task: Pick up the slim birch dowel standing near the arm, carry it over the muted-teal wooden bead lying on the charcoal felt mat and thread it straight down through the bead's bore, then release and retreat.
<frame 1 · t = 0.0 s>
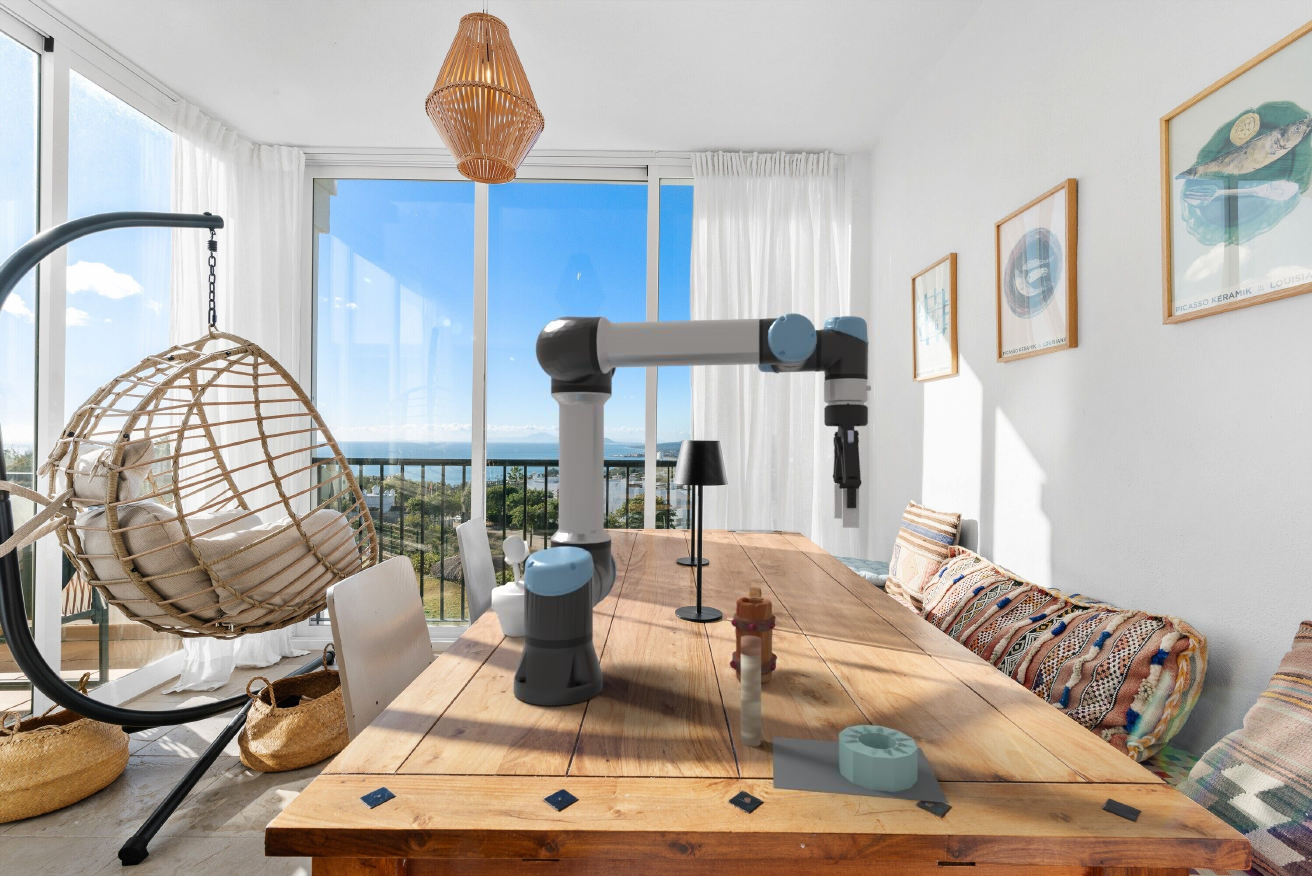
hand: (845, 522, 119), 28 cm above the table, fingers open, 13 cm apart
wooden banded keg: (754, 675, 121), on the table
bead: (877, 772, 84), resting on mat
mat: (851, 771, 86), on the table
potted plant: (519, 633, 148), on the table
dowel: (750, 746, 93), on the table
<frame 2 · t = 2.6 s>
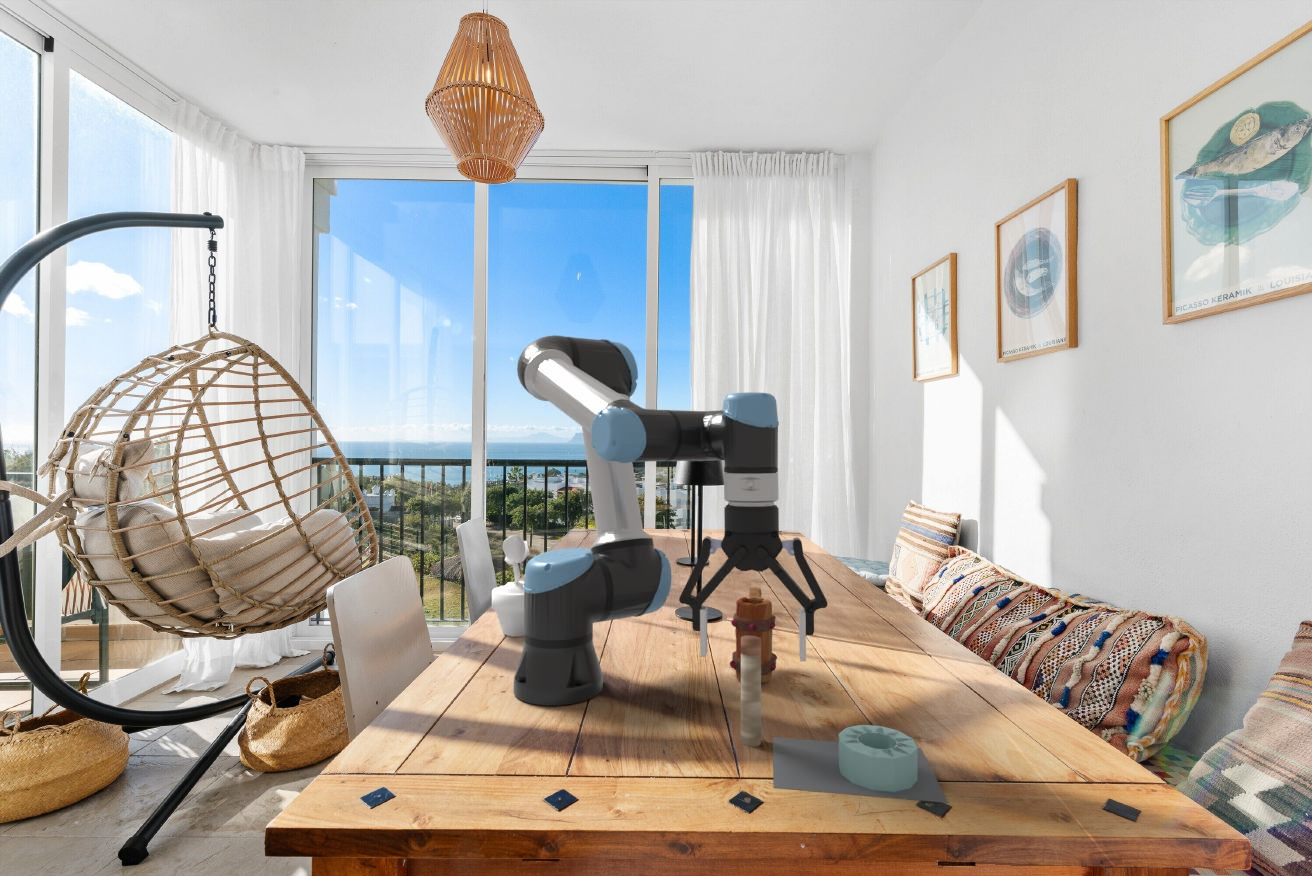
hand: (752, 656, 93), 13 cm above the table, fingers open, 13 cm apart
nothing on the table moved.
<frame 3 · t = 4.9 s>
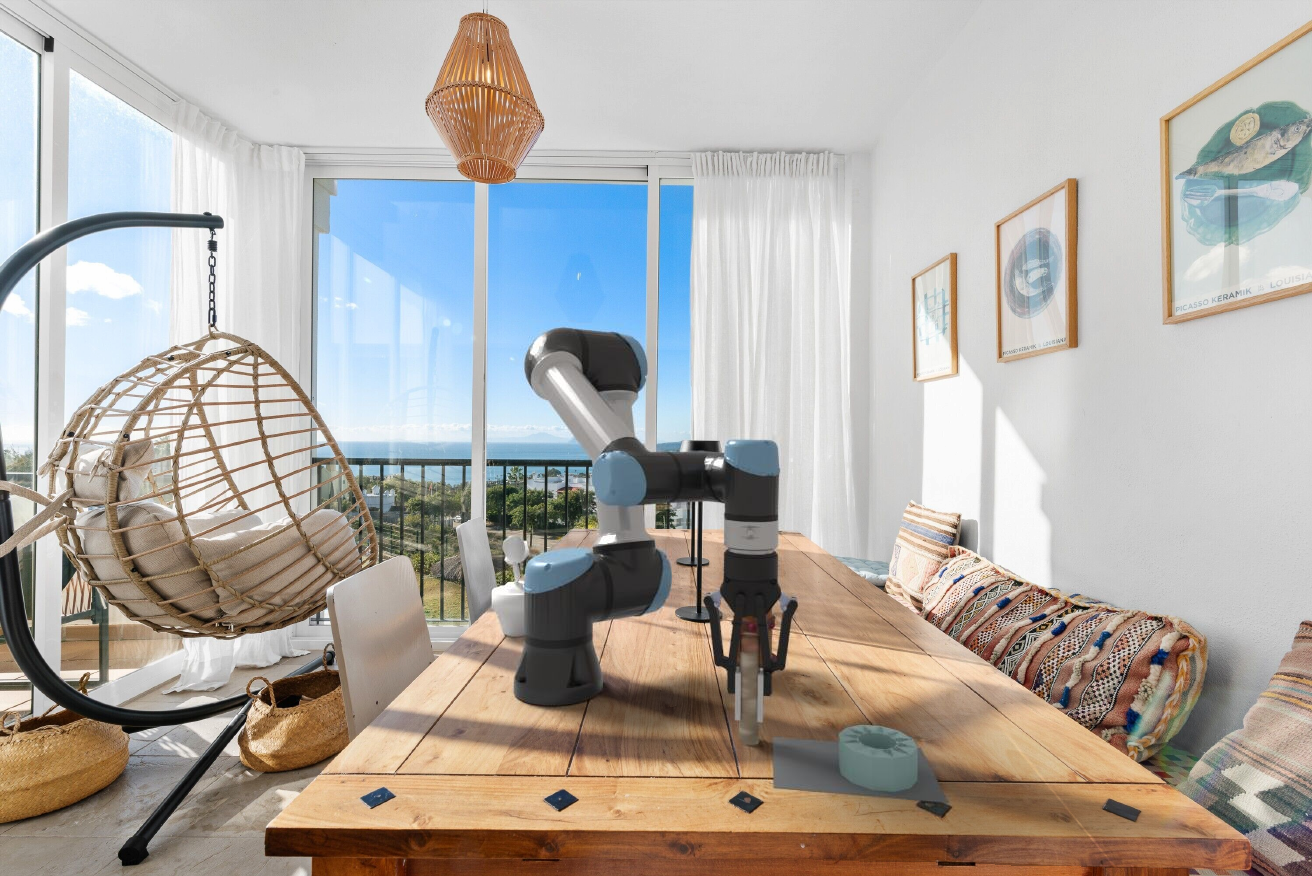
hand: (749, 717, 93), 4 cm above the table, fingers closed on dowel, 2 cm apart
dowel: (749, 742, 93), on the table, touching gripper
everything else where it was.
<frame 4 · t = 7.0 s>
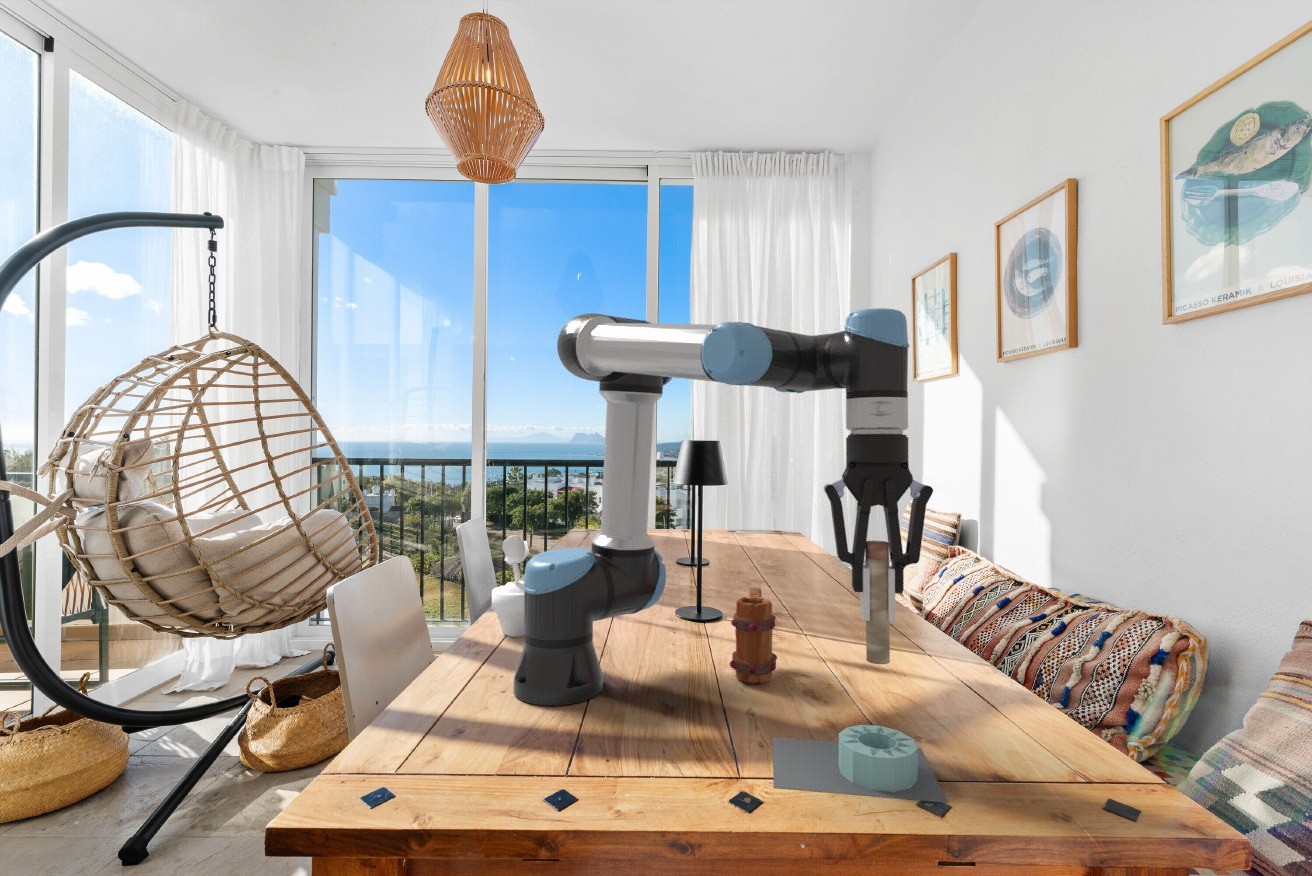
hand: (877, 617, 84), 20 cm above the table, fingers closed on dowel, 2 cm apart
dowel: (878, 660, 84), point 15 cm above the table, touching gripper
everything else where it was.
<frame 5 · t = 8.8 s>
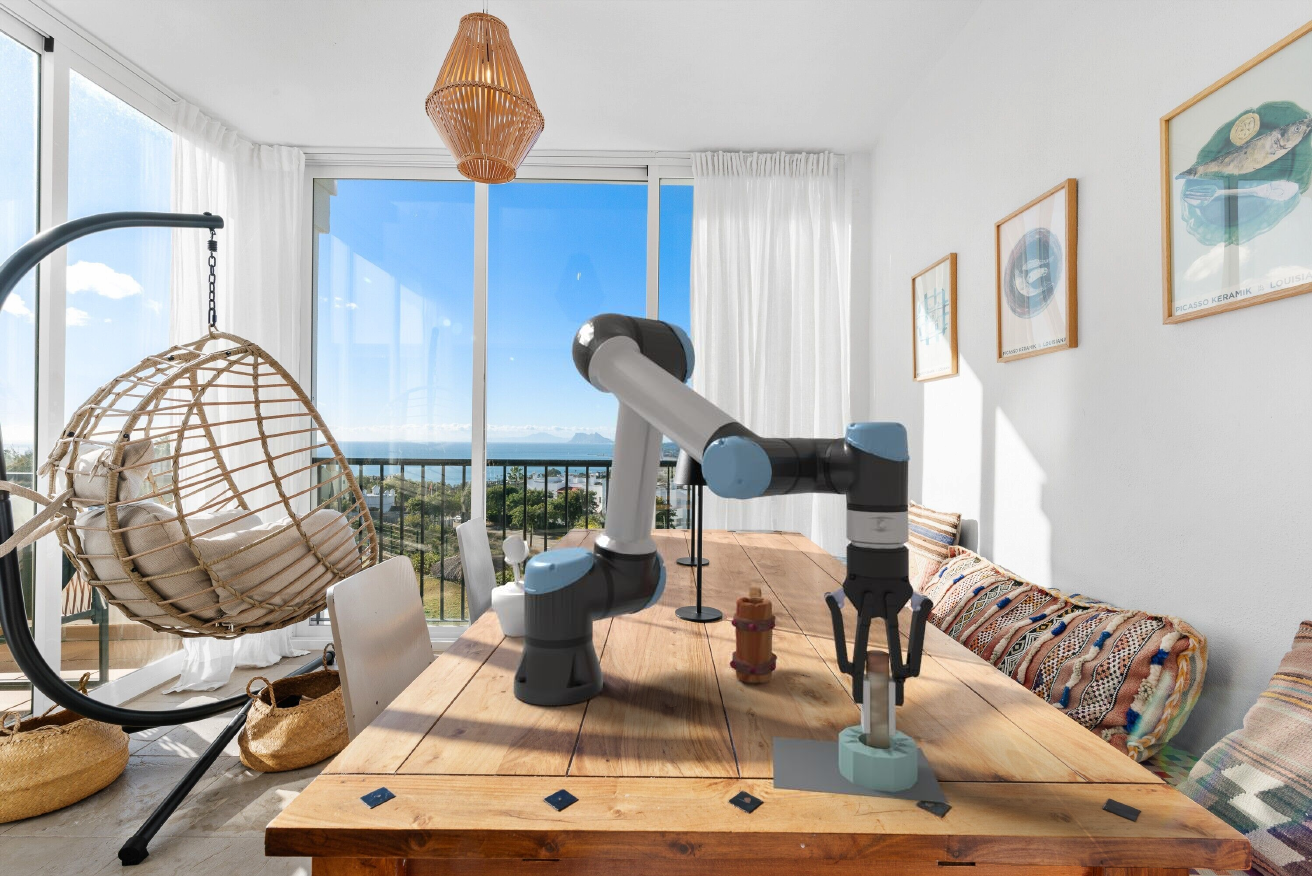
hand: (877, 729, 84), 6 cm above the table, fingers closed on dowel, 2 cm apart
dowel: (878, 772, 84), point 1 cm above the table, touching gripper
everything else where it was.
when the fingers open (6 cm above the table, at t = 9.3 s): dowel stays where it is, resting on mat.
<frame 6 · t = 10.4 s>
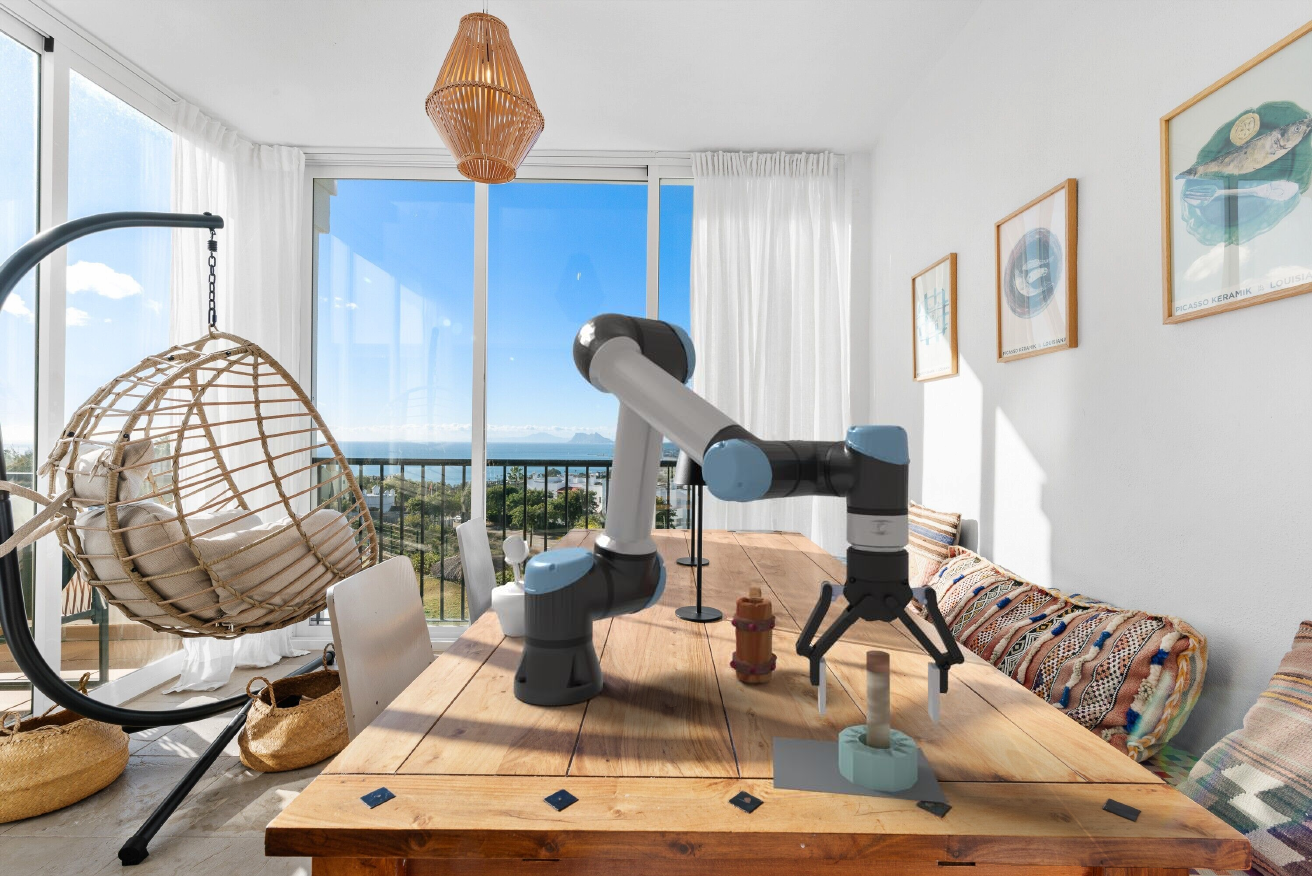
hand: (877, 714, 84), 8 cm above the table, fingers open, 13 cm apart
dowel: (878, 772, 84), point 1 cm above the table, touching mat
everything else where it was.
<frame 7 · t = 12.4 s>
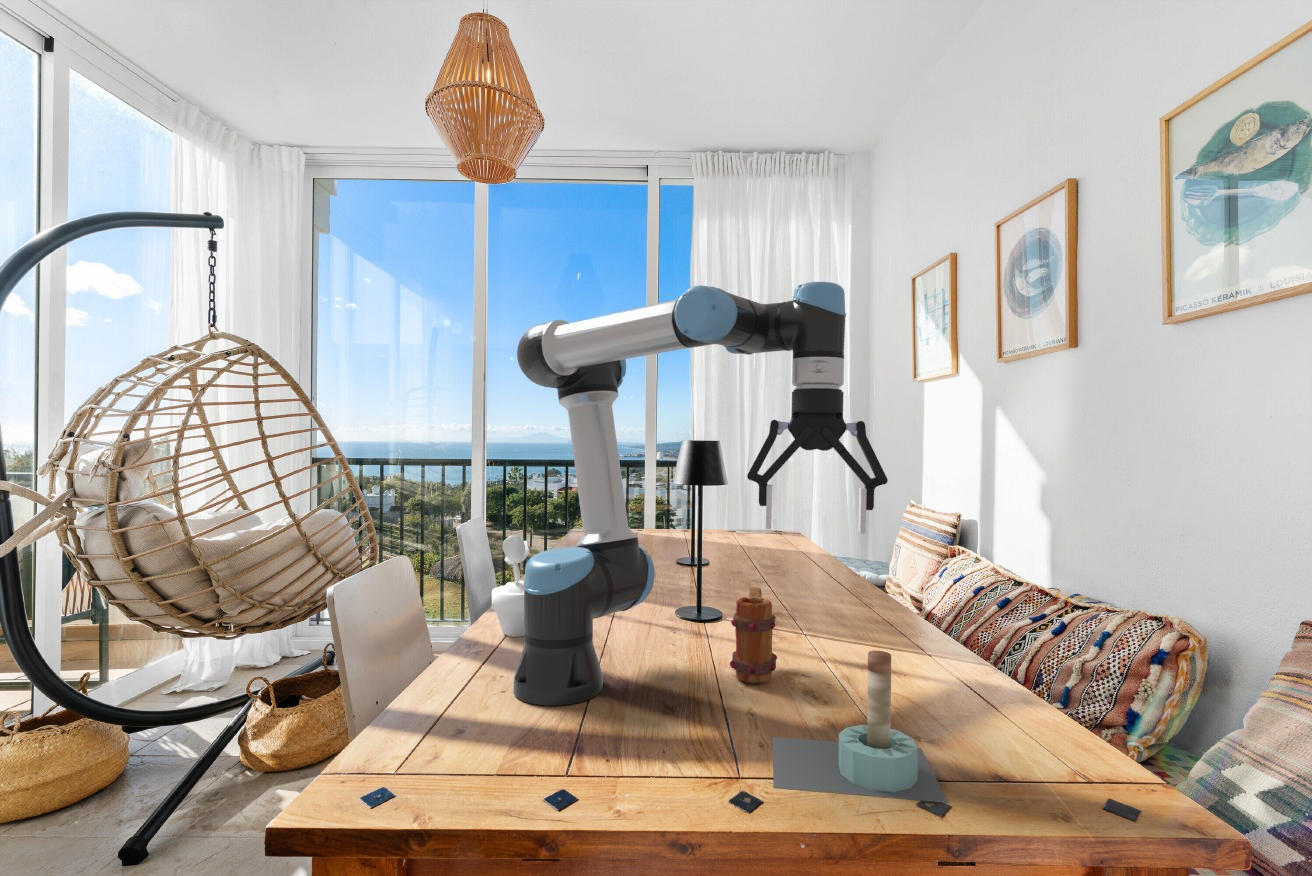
hand: (814, 530, 100), 29 cm above the table, fingers open, 13 cm apart
nothing on the table moved.
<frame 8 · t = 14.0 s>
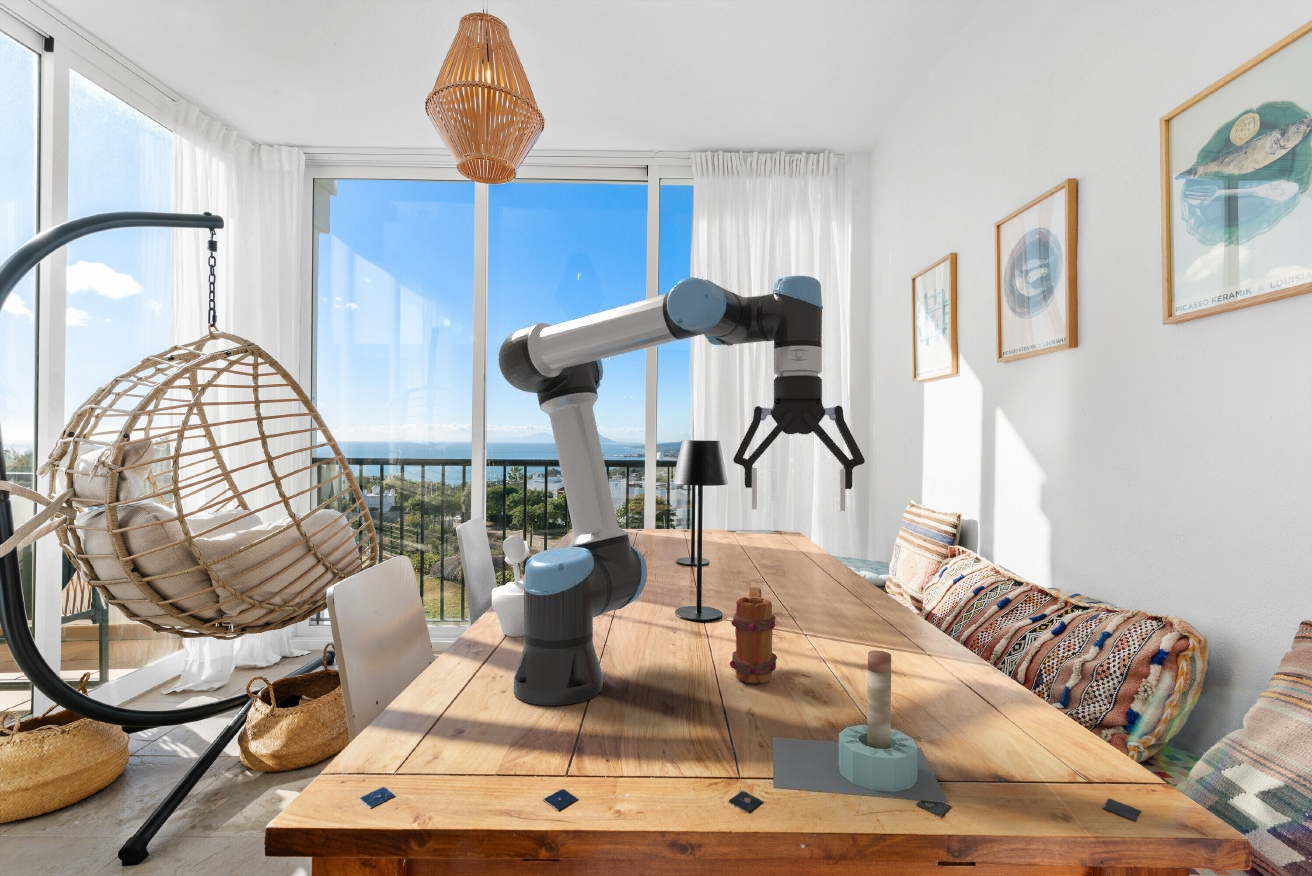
hand: (797, 509, 106), 32 cm above the table, fingers open, 13 cm apart
nothing on the table moved.
at the end: dowel 0.1 cm off-centre on the bead, point 0.0 cm above the bead's base; dowel tilted 1°; the gripper is holding nothing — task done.
